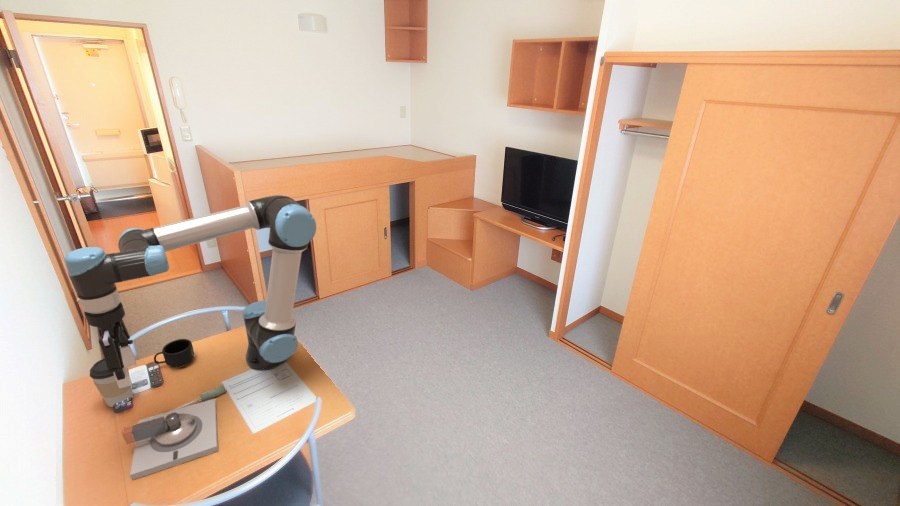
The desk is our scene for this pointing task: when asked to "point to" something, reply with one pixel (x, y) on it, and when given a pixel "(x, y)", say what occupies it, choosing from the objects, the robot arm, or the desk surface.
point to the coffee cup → (108, 384)
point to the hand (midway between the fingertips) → (128, 375)
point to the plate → (199, 444)
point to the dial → (162, 430)
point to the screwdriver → (207, 395)
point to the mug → (177, 353)
